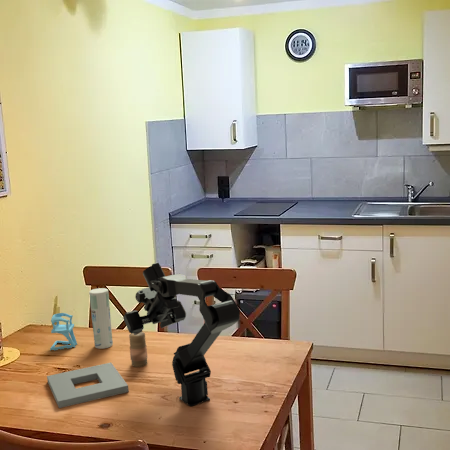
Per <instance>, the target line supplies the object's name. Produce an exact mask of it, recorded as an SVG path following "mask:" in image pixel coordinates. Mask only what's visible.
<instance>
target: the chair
mask: <svg viewBox="0 0 450 450" xmlns="http://www.w3.org/2000/svg"><path fill="white" fill-rule="evenodd" d="M64 317H67V318H69V319H66V318H64ZM50 322H51V325H52V329H51V330H50V331H51V332H50V333H51V334H61V335H63V336H64V337H65V338H66V340H55V341H54V342H53V344H52V345H51V347H50V348H49V349H50V351H51V350H54V351H58V349H60V350H65V349H64V348H67V349H71V348H72V347H74V348H76V346H77V345H78V342H77V339H76V336H75V333H74V329H73V328H74V327H75V323H73V315H71V314H68V313H67V312H61V313H60V312H59V313H55V314H53V315H52V317H51V320H50ZM60 322H63V323H66V324H60ZM55 323H56V324H55ZM57 343H62V344H61V346H60V345H59V346H57V345H58V344H57ZM68 344H71V345H68ZM55 345H56V346H55Z"/></svg>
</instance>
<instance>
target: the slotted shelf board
mask: <svg viewBox="0 0 450 450" xmlns="http://www.w3.org/2000/svg"><path fill="white" fill-rule="evenodd" d="M46 379H47V384H48V387H49V389H50V391H51V394H52V395H53V398H54V400H55V403H56V405H57V407H58V409H60V408H65V407H70V406H73V405H78V404H83V403H86V402H92V401H95V400H99V399H104V398H107V397H112V396H117V395H121V394H125V393H129V384H128V383H127V382H126V381H125V379H124V378H123V377H122V375H121V374H120V372H119V371H118V370H117V368H116V367H115V366H114V364H113V362H106V363H102V364H98V365H93V366H89V367H88V366H87V367H82V368H79V369H74V370H70V371H69V370H68V371H64V372H59V373H55V374H50V375H46ZM96 380H97V381H98V382H99V383H95V384H90V385H85V386H80V387H77V388H76V387H75V385H77V384H83V383H86V382H91V381H96Z"/></svg>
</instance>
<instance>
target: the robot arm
mask: <svg viewBox="0 0 450 450" xmlns="http://www.w3.org/2000/svg"><path fill="white" fill-rule="evenodd" d="M142 275H143V278H144V279H145V282H146V283H147V286H148V287H146V288H142V289H140V290H138V291H136V293H135V296H134V298H135V300H136V302H137V303H138V304H140V303H143V304H144V307H143V310H144V311H145V312H146V315H140V312H139V311H138V310H131V311H128V312H125V313H124V315H123V317H122V319H123V321H124V324H125V327H126V328H127V330H128V333H129V334H132V333H134V335H137V334H139V333H140V332H143V330H144V325H147V324H151V323H152V325H155V324H159V326H160V328H161V329H163V328H166V327H169V326H171V325H174V324H177V323H180V322H182V321H184V320H185V319H186V317H187V312H186V309H185V308H184V306H183V304H182V302H181V301H180V300H178V296H177V295H181V296H183V295H184V296H190V297H197V298H198V300H199V307H198V308H199V312H200V314H201V316H202V319H203V320H204V323H203V325H202V326H201V328H200V329H199V330H198V332H197V333H196V335H195V336H194V337H193V339H191V342H190V343H186V344H183V345H180V346H178V347H177V349H176V351H175V352H173V355H174V356H173V358H172V362H171V367H172V370H173V374H174V377H175V381H176V383H177V384H178V385H180V389H181V390H180V391H181V395H180V396H179V397H178V399H179V400H180V401H182V402H183V404H186V405H188V406H189V407H194V406H196V405H199V404H202V403H205V402H208V401H210V400H211V397H209V396H208V395H209V392H208V391H209V390H208V382H207V380H206V379H207V378H211V374H212V373H211V369H210V367H209V365H208V362H207V360H206V357H205V354H207V352H208V351H209V349H210V348H211V347H212V346H213V344H214V342H215V341H216V339H217V338H218V337H219V335H221V333H222V332H223V331H224V330H227V329H229V328H230V327H233V326H234V325H235V324H236V323H238V321H239V320H240V317H241V311H240V307H239V305H238V304H237V303H236V301H235V299H234V298H233V296H232V295H231V294H230V293H229V292H227V291H225V290H224V289H222V288H221V287H220V286H219V285H218V283H217V282H216V280H212V279H209V280H203V279H193V278H192V279H191V278H187V276H186V275H184V274H183V273H175V274H170V275H167V276H166V274H165V272H164V270H163V268H162V266H161V264H160V263H159V262H155V263H152V264H151V265H150V266H148V267H146V268H145V269H144V270H143V271H142ZM212 296H213V297H214V299H216V300H217V301H219V303H215V304H211V305H208V304H207V303H206V298H208V297H209V298H210V297H212Z"/></svg>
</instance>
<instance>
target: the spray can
mask: <svg viewBox="0 0 450 450" xmlns="http://www.w3.org/2000/svg"><path fill="white" fill-rule="evenodd" d="M88 293H89V306H90V313H91V321H92V332H93V333H92V334H93V341H94V347H95V348H96V349H107V348H111V347H113V344H114V343H113V333H112V332H113V331H112V318H111V308H110V296H109V289H107V288H104V287H102V288H101V287H100V288H93V289H91V290H89V292H88Z"/></svg>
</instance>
